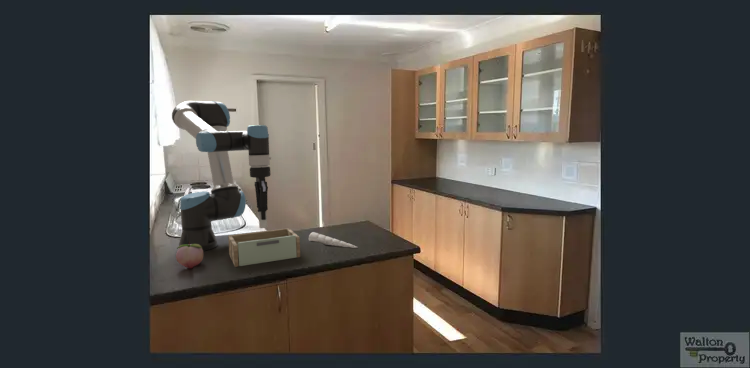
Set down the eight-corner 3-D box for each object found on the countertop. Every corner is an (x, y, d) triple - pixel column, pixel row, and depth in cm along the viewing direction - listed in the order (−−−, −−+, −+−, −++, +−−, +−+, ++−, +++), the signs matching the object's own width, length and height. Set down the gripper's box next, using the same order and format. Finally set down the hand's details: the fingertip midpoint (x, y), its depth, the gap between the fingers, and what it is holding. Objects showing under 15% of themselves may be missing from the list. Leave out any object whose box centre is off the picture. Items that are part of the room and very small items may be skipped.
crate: (229, 257, 162) (228, 235, 161) (289, 249, 173) (288, 228, 172) (235, 270, 148) (233, 245, 147) (300, 259, 159) (299, 237, 157)
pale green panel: (239, 265, 149) (237, 242, 148) (295, 256, 159) (294, 235, 157) (239, 266, 148) (238, 243, 147) (297, 257, 157) (296, 236, 156)
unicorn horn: (353, 251, 170) (352, 239, 169) (307, 244, 182) (307, 233, 181) (359, 248, 174) (359, 237, 173) (314, 241, 186) (314, 230, 185)
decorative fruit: (207, 263, 156) (205, 237, 154) (201, 271, 148) (199, 243, 146) (181, 265, 154) (179, 239, 153) (174, 272, 146) (171, 245, 145)
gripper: (273, 166, 151) (277, 229, 154) (266, 164, 163) (269, 223, 166) (252, 168, 148) (256, 232, 151) (246, 165, 160) (250, 225, 163)
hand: (263, 227), depth 158 cm, fingers closed
